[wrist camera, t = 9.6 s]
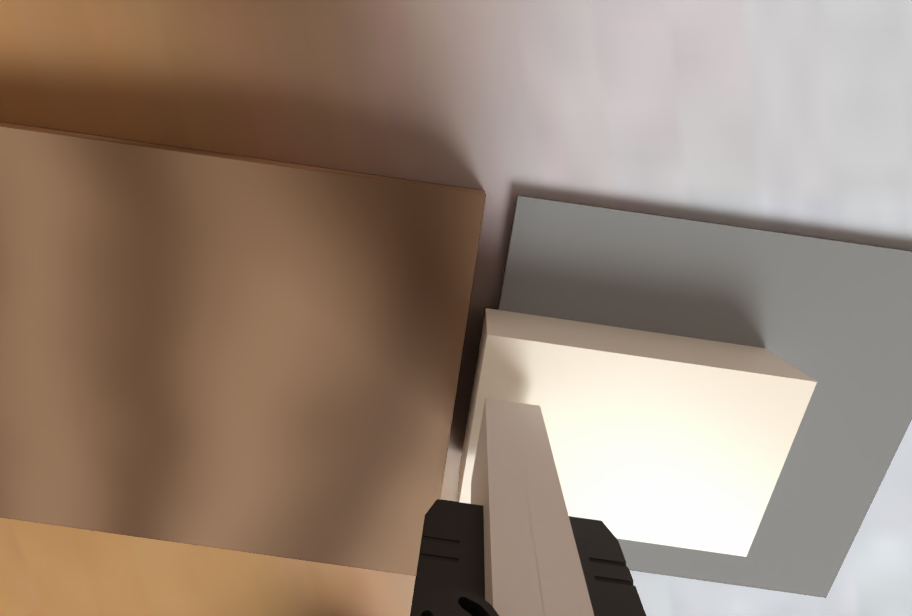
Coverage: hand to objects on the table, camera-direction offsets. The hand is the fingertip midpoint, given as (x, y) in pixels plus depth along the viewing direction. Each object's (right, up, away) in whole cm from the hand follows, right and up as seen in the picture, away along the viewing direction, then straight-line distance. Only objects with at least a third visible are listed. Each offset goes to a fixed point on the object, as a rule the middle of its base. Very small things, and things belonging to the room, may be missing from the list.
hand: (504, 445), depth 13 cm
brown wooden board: (-11, +3, +3) cm, 12 cm away
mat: (+7, 0, +3) cm, 7 cm away
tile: (+4, 0, +3) cm, 5 cm away
